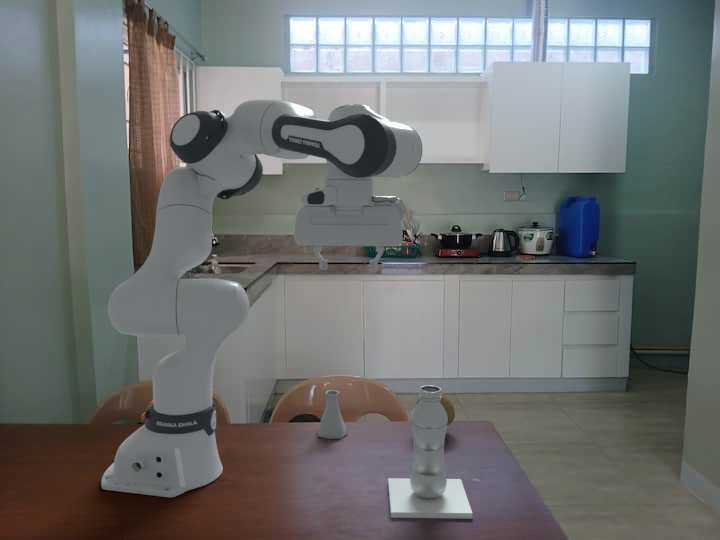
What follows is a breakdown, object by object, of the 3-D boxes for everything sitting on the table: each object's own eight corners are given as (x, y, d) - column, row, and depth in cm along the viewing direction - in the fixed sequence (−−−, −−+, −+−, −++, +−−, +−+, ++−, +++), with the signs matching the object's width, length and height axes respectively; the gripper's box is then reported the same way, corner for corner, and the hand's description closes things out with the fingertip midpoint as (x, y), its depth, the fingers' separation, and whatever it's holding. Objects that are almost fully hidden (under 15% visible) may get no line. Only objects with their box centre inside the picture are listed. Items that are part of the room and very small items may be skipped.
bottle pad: (391, 517, 100) (391, 512, 100) (388, 483, 112) (388, 478, 112) (472, 518, 100) (472, 513, 100) (460, 483, 112) (460, 479, 112)
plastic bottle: (448, 503, 103) (452, 395, 100) (410, 503, 103) (412, 394, 100) (444, 485, 109) (447, 383, 107) (408, 485, 109) (410, 382, 107)
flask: (344, 441, 131) (344, 398, 129) (312, 438, 132) (312, 396, 131) (350, 428, 138) (350, 388, 136) (321, 426, 139) (321, 386, 138)
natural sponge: (437, 422, 142) (438, 383, 141) (462, 435, 134) (463, 393, 133) (407, 430, 137) (408, 389, 136) (432, 444, 130) (433, 401, 128)
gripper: (403, 196, 111) (402, 268, 113) (296, 195, 111) (297, 267, 113) (406, 196, 105) (404, 272, 106) (292, 195, 105) (293, 271, 106)
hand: (348, 269), depth 110 cm, fingers open, 8 cm apart
